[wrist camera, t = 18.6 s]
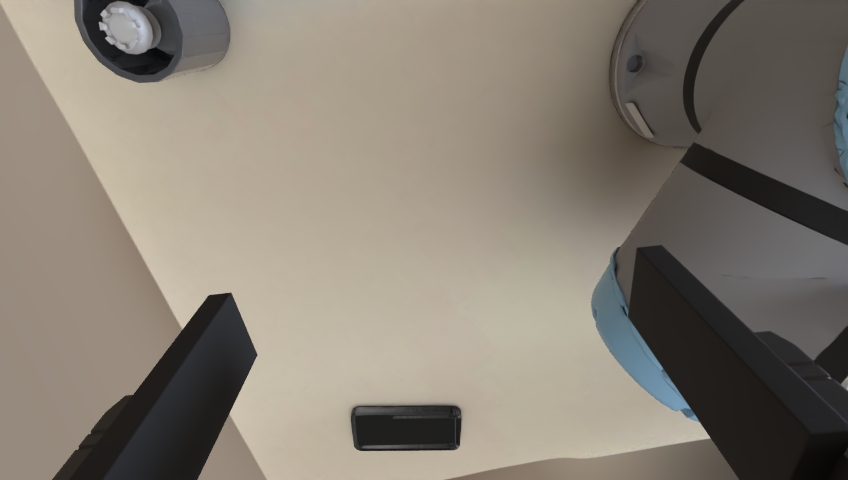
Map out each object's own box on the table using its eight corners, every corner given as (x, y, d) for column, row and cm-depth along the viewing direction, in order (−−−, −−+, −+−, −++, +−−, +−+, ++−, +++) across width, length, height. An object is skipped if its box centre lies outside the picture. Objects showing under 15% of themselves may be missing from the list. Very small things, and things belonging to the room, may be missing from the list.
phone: (459, 450, 60) (354, 451, 60) (458, 443, 61) (355, 444, 61) (461, 412, 56) (350, 413, 56) (460, 405, 57) (351, 406, 57)
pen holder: (168, -45, 33) (100, -62, 26) (245, 22, 35) (202, 24, 28) (129, 28, 35) (57, 31, 28) (204, 87, 38) (154, 103, 31)
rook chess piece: (177, 64, 36) (118, 76, 29) (140, 12, 34) (67, 11, 27) (218, 39, 35) (168, 45, 28) (182, -16, 34) (118, -25, 26)
